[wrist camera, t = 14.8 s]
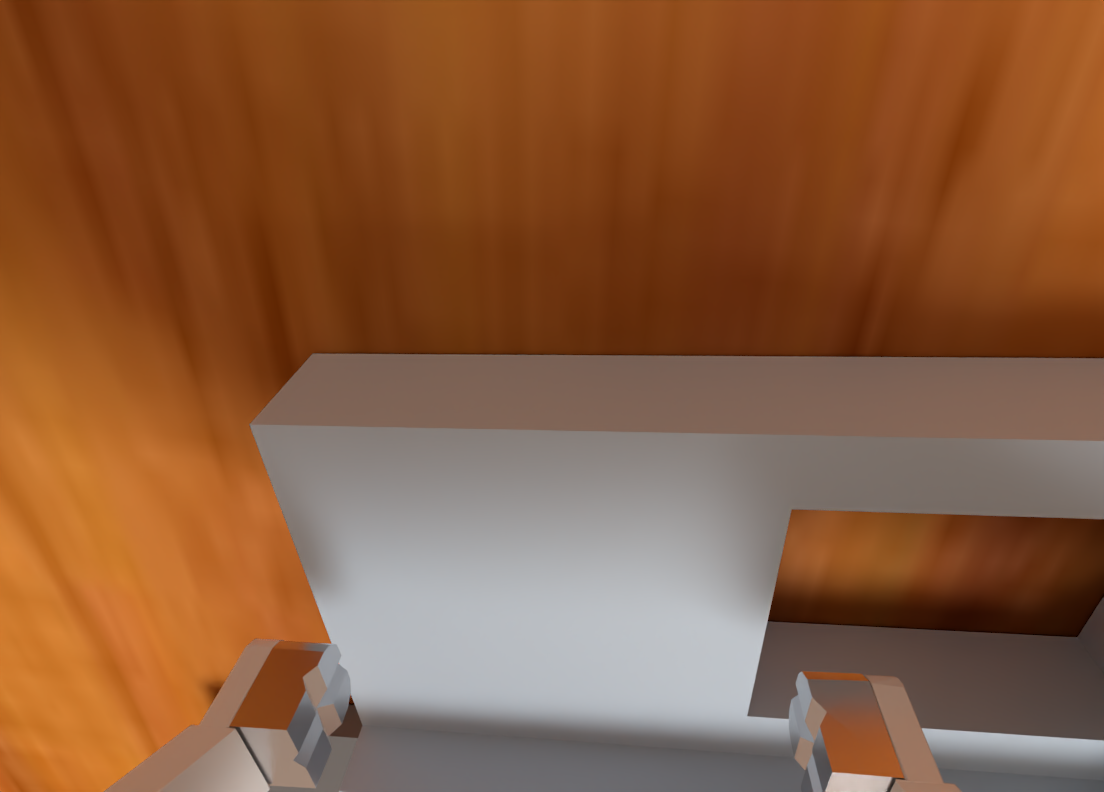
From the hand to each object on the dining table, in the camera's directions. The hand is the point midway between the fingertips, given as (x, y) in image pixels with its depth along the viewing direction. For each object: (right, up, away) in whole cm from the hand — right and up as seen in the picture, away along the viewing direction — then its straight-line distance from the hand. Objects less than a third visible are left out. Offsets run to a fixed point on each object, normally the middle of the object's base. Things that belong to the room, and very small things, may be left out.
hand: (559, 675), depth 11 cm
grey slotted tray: (+4, +2, +3) cm, 5 cm away
